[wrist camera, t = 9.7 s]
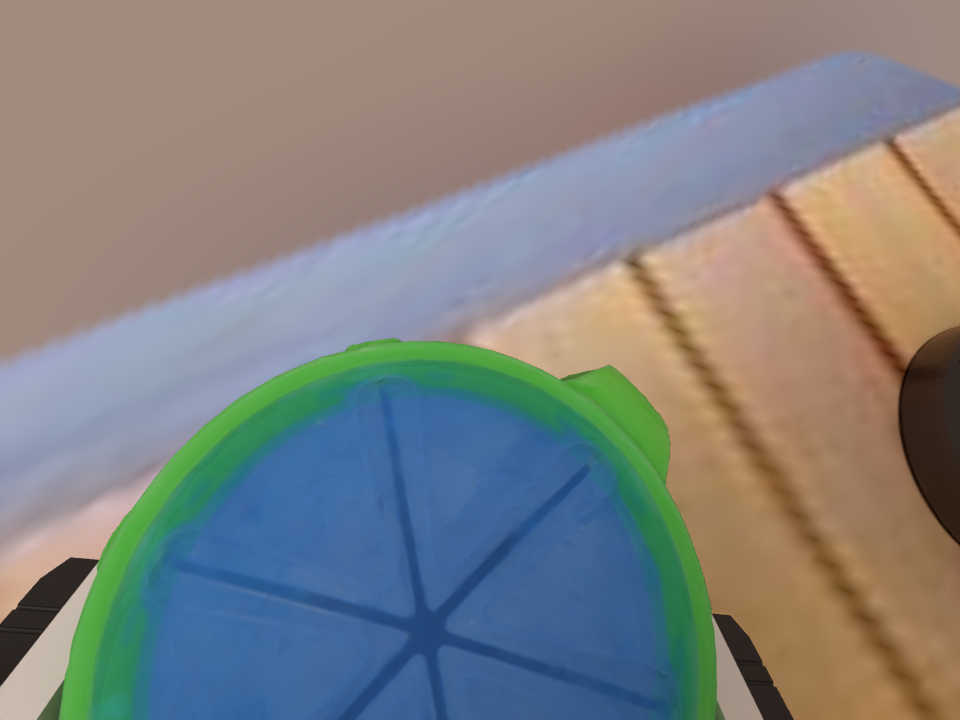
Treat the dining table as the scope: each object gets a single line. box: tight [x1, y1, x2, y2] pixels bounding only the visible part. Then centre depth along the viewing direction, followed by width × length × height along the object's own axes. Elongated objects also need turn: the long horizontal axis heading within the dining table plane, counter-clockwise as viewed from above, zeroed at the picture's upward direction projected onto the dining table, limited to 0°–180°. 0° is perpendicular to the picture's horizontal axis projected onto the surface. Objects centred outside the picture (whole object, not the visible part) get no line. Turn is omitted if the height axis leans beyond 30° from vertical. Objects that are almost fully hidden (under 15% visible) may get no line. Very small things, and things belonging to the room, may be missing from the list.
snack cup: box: [59, 338, 717, 720], centre depth 13 cm, size 16×10×10 cm
